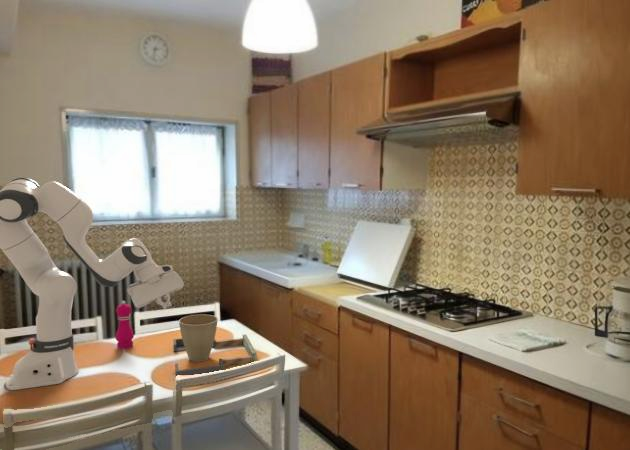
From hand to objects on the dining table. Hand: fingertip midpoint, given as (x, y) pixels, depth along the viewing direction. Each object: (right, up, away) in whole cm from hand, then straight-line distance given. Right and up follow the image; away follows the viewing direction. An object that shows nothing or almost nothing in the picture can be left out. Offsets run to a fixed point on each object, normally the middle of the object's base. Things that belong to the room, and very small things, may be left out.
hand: (168, 307), depth 174 cm
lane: (+23, -22, +14) cm, 34 cm away
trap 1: (+4, -21, +23) cm, 31 cm away
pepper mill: (-26, -21, +23) cm, 41 cm away
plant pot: (+9, -22, +10) cm, 26 cm away
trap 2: (+13, -23, -4) cm, 27 cm away
